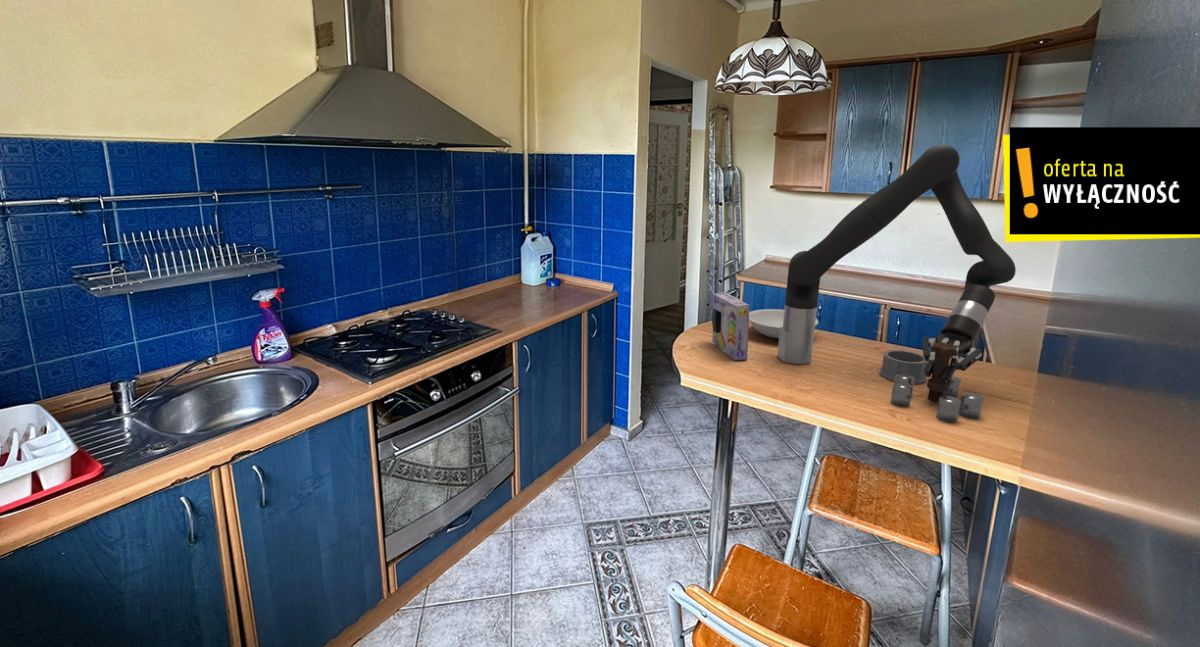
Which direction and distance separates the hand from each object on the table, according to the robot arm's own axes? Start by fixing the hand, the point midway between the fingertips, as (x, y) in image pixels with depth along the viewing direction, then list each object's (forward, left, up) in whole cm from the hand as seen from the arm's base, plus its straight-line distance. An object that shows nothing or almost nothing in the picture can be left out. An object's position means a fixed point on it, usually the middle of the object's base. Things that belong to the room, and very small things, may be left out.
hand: (935, 377), depth 141 cm
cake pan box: (-41, +42, -8) cm, 60 cm away
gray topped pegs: (+1, 0, -8) cm, 8 cm away
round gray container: (+4, +20, -8) cm, 22 cm away
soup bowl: (-19, +58, -8) cm, 62 cm away
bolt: (+2, +1, -7) cm, 7 cm away
